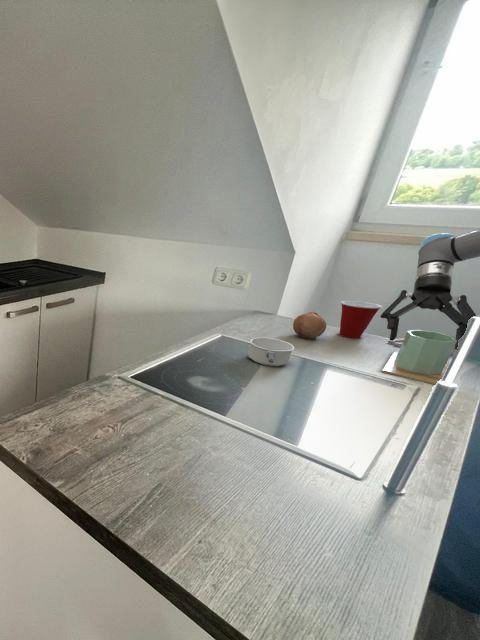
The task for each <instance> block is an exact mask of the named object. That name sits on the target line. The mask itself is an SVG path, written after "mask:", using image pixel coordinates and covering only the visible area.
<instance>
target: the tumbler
mask: <svg viewBox="0 0 480 640" xmlns="http://www.w3.org/2000/svg"><path fill="white" fill-rule="evenodd" d="M456 342H457V340H456V337H454V336H453V335H449V334H445V333H441V332H438V331H431V330H423V329H413V330H412V329H411V330H407V331H406V334H405V335H404V338H403V340H402V343H401V345H400V347H399V350H398V355H397V357H396V359H395V364H396V366H397V367H399V368H402V369H405V370H407V371H410V372H414V373H420V374H426V375H435V374H441V373H442V371H443V369H444V367H445V365H446V363H448V361H449V359H450V356H451V355H452V353H453V351H454V350H455V344H456Z"/></svg>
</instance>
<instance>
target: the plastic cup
mask: <svg viewBox="0 0 480 640" xmlns="http://www.w3.org/2000/svg"><path fill="white" fill-rule="evenodd" d="M340 305H341V315H340V324H339V335H340V336H342V337H345V338H349V339H360V338H361V337H362V335H363V334H364V332H365V331H366V330H367V329H368V327H369V325H370V323H371V322H372V320H373V318H374V317H375V315H376V314H377V313H378V311H379V310H380V309H382V307H383V306H382V305H380V304H377V303H370V302H366V301H357V300H355V301H354V300H342V301H340Z"/></svg>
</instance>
